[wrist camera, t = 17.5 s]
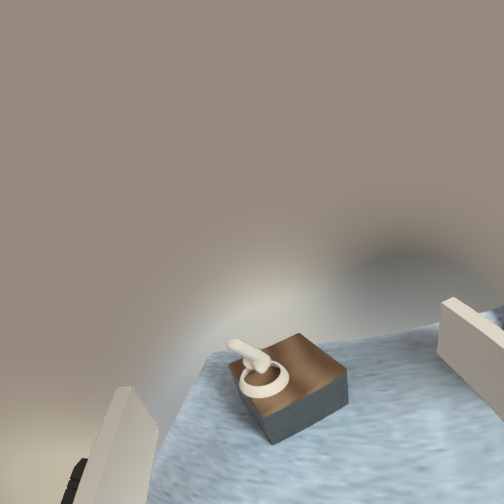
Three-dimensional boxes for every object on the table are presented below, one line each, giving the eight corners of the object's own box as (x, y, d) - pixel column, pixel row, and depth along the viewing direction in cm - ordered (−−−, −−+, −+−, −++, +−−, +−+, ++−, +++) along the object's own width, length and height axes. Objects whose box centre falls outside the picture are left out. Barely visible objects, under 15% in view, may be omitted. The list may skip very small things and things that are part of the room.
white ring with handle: (198, 388, 36) (205, 340, 40) (250, 403, 43) (253, 363, 47) (245, 386, 32) (249, 332, 36) (292, 401, 40) (293, 358, 44)
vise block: (305, 365, 55) (299, 332, 52) (348, 403, 42) (346, 368, 40) (240, 396, 50) (228, 364, 48) (272, 445, 37) (261, 413, 35)
